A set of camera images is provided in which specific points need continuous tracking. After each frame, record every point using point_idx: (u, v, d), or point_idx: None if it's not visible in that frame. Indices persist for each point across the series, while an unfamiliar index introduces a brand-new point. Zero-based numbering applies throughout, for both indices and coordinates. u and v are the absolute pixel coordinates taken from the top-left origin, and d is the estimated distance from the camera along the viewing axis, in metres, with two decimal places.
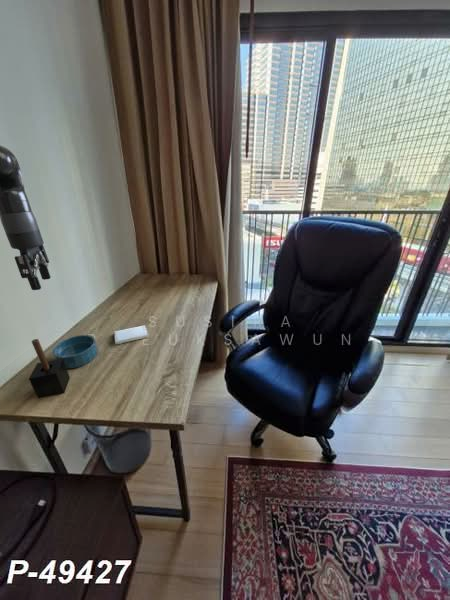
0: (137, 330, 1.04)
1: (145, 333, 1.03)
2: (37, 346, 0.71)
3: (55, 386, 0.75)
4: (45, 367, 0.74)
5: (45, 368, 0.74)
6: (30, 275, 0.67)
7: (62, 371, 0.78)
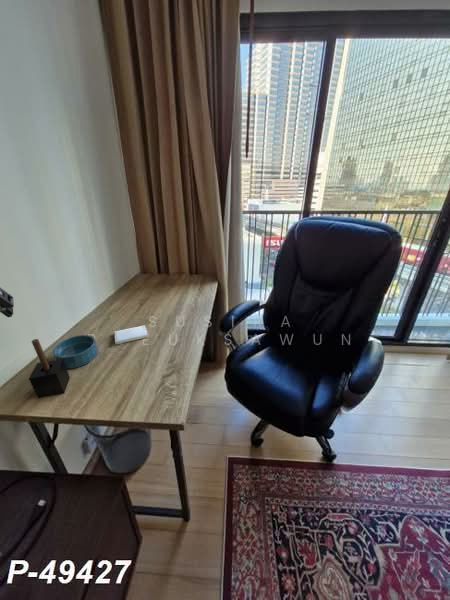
0: (137, 330, 1.04)
1: (145, 333, 1.03)
2: (37, 346, 0.71)
3: (55, 386, 0.75)
4: (45, 367, 0.74)
5: (45, 368, 0.74)
6: None
7: (62, 371, 0.78)
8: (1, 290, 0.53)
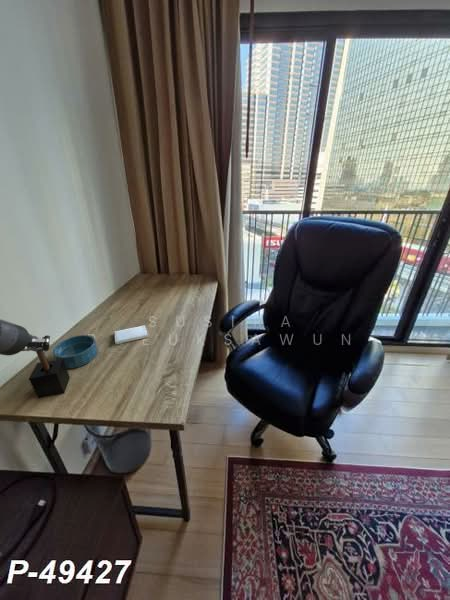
0: (137, 330, 1.04)
1: (145, 333, 1.03)
2: None
3: (55, 386, 0.75)
4: (45, 367, 0.74)
5: (45, 368, 0.74)
6: None
7: (62, 371, 0.78)
8: (49, 338, 0.68)
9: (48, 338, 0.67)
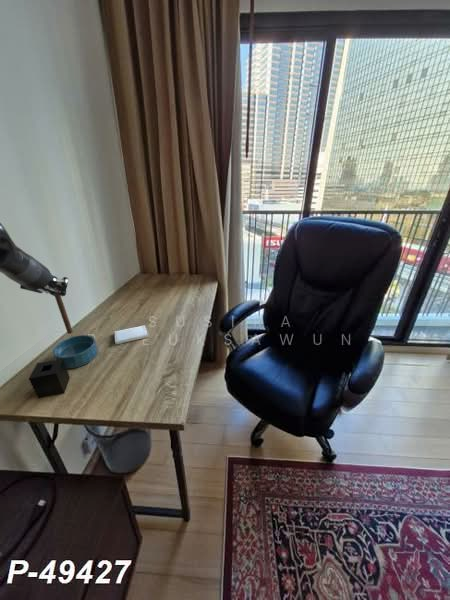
0: (137, 330, 1.04)
1: (145, 333, 1.03)
2: None
3: (55, 386, 0.75)
4: (62, 311, 0.82)
5: (62, 312, 0.82)
6: None
7: (62, 371, 0.78)
8: (67, 280, 0.76)
9: (66, 279, 0.75)
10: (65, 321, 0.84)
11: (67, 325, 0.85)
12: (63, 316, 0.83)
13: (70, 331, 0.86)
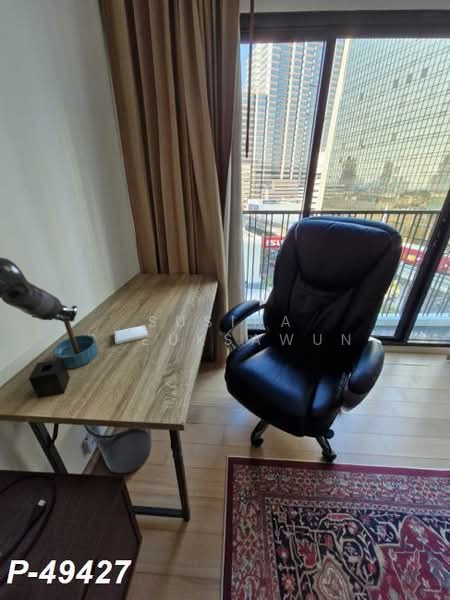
0: (137, 330, 1.04)
1: (145, 333, 1.03)
2: None
3: (55, 386, 0.75)
4: (71, 335, 0.87)
5: (71, 336, 0.87)
6: None
7: (62, 371, 0.78)
8: (76, 308, 0.80)
9: (75, 308, 0.79)
10: (73, 345, 0.88)
11: (75, 349, 0.89)
12: (71, 340, 0.87)
13: None
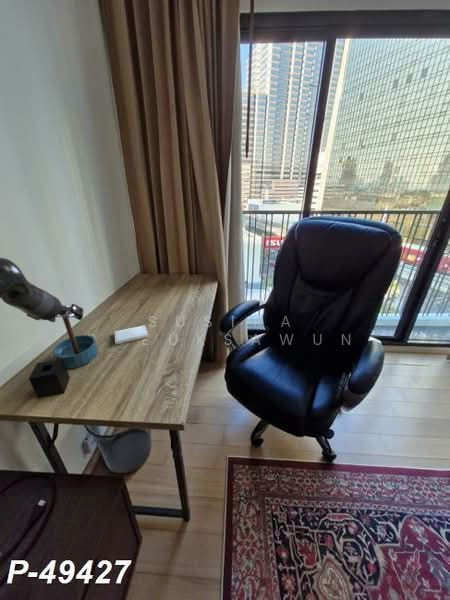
0: (137, 330, 1.04)
1: (145, 333, 1.03)
2: None
3: (55, 386, 0.75)
4: (71, 336, 0.87)
5: (71, 337, 0.87)
6: None
7: (62, 371, 0.78)
8: (76, 306, 0.78)
9: (73, 306, 0.77)
10: (74, 346, 0.89)
11: (76, 350, 0.89)
12: (72, 341, 0.88)
13: None
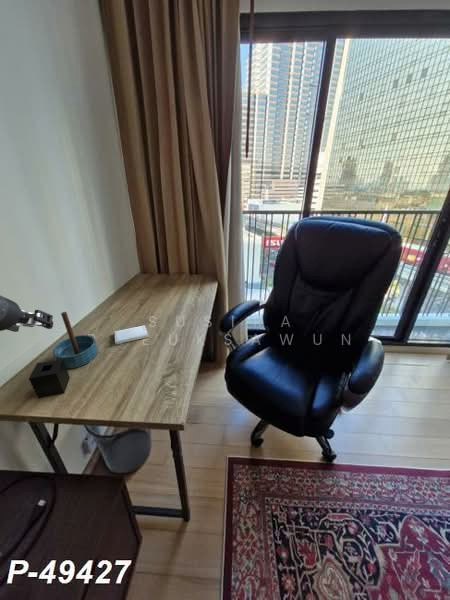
0: (137, 330, 1.04)
1: (145, 333, 1.03)
2: (65, 317, 0.84)
3: (55, 386, 0.75)
4: (71, 336, 0.87)
5: (71, 337, 0.87)
6: None
7: (62, 371, 0.78)
8: (42, 313, 0.62)
9: (37, 312, 0.60)
10: (74, 346, 0.89)
11: (76, 350, 0.89)
12: (72, 341, 0.88)
13: None
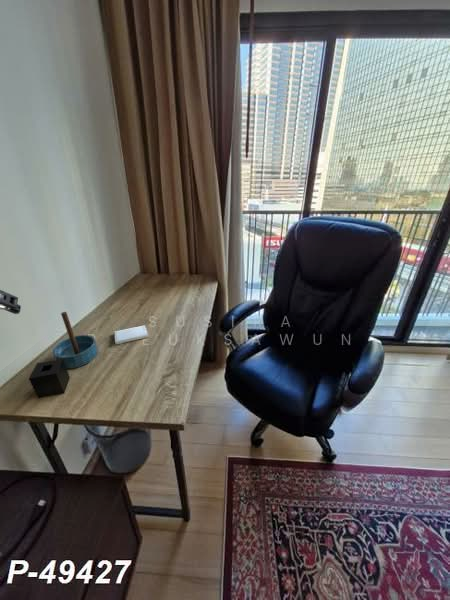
0: (137, 330, 1.04)
1: (145, 333, 1.03)
2: (65, 317, 0.84)
3: (55, 386, 0.75)
4: (71, 336, 0.87)
5: (71, 337, 0.87)
6: None
7: (62, 371, 0.78)
8: (2, 293, 0.52)
9: None
10: (74, 346, 0.89)
11: (76, 350, 0.89)
12: (72, 341, 0.88)
13: None
